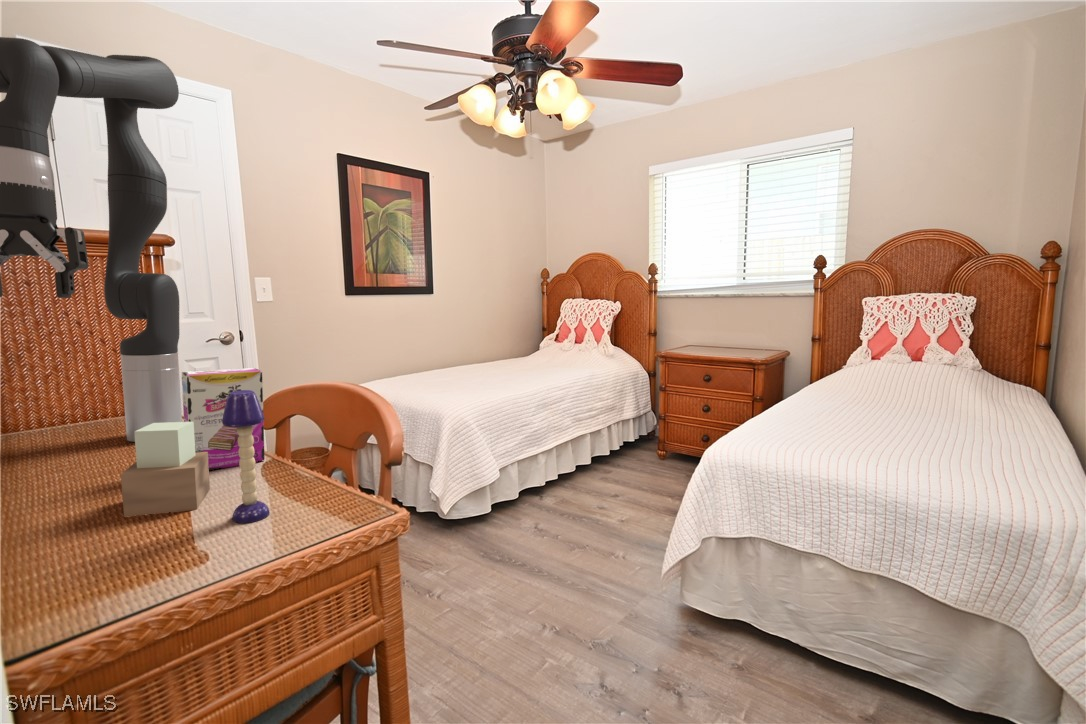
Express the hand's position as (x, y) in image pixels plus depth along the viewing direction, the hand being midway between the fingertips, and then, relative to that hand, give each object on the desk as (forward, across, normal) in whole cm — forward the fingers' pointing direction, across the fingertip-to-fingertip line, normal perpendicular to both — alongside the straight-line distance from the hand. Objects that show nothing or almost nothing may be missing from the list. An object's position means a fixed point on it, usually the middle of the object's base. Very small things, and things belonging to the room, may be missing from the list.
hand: (29, 297), depth 76 cm
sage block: (+22, -22, +14) cm, 34 cm away
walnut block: (+28, -22, +14) cm, 39 cm away
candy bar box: (+28, -24, -3) cm, 37 cm away
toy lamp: (+28, -34, +22) cm, 49 cm away
